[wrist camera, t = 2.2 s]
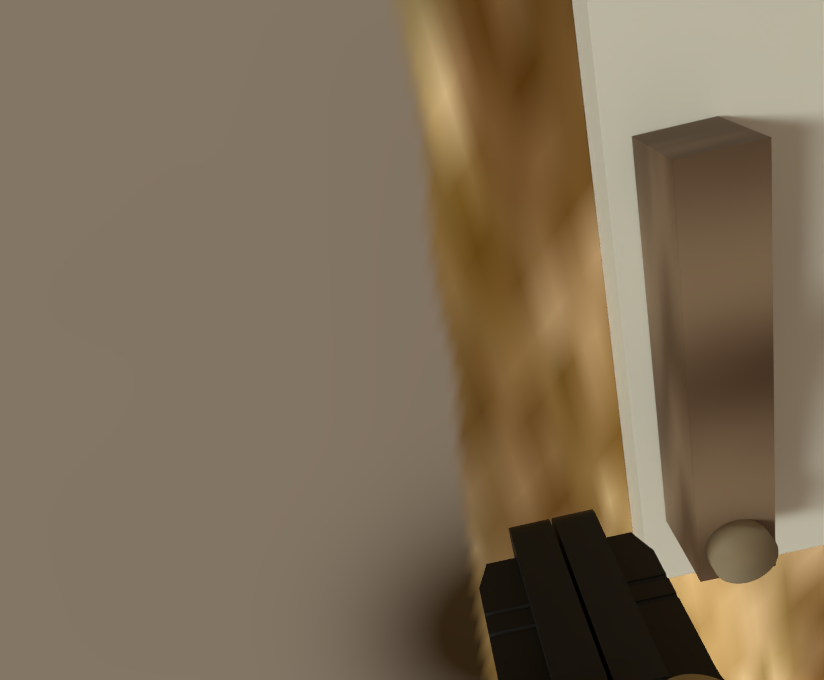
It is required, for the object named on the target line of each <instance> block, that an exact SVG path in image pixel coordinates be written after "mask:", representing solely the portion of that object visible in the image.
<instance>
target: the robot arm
mask: <svg viewBox="0 0 824 680" xmlns="http://www.w3.org/2000/svg"><path fill="white" fill-rule="evenodd" d="M509 533H510V538H511V543H512V548H513V553H514V558H513V559H508V560H503V561H499V562H494V563H490V564H487V565H486V568H485V571H484V575H483V578H482V581H481V584H480V588H479V589H480V594H481V599H482V604H483V609H484V613H485V618H486V623H487V628H488V633H489V637H490V642H491V647H492V652H493V657H494V662H495V666H496V671H497V676H498V680H724V679H723V678H722V677H721V675H720V674H719V672H718V670H717V669H716V667H715V665H714V663H713V661H712V660H711V658H710V656H709V654H708V652H707V650H706V648H705V646H704V644H703V643H702V641H701V639H700V637H699V635H698V633H697V631H696V629H695V627H694V625H693V624H692V622H691V620H690V618H689V616H688V614H687V612H686V610H685V608H684V607H683V605H682V603H681V601H680V599H679V598H678V597H677V595H676V591H675V590H674V588H673V586H672V584H671V582H670V580H669V578H667V576H666V573H665V571H664V569H663V567H662V565H661V563H660V561H659V559H658V557H657V555H656V554H655V552H654V550H653V549H652V548H650V547H649V546H648V545H647V544H645V543H644V542H643V541H641V540H640V539H639V538H638V537H636V536H635V535H634V534H632V533H631V532H630V533H625V534H621V535H616V536H612V537H607V538H606V536H605V534H604V531H603V529H602V527H601V525H600V523H599V520H598V518H597V516H596V514H595V512H594V511H593V510H587V511H583V512H578V513H573V514H569V515H564V516H560V517H555V518H552V525H551V522H550V520H549V519H547V520H543V521H538V522H534V523H529V524H525V525H520V526H515V527H511V528H509Z"/></svg>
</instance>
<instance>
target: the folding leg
mask: <svg viewBox="0 0 824 680" xmlns="http://www.w3.org/2000/svg"><path fill="white" fill-rule="evenodd" d="M632 145H633V156H634V168H635V179H636V190H637V201H638V212H639V223H640V235H641V246H642V257H643V268H644V279H645V290H646V302H647V313H648V324H649V335H650V346H651V357H652V369H653V380H654V391H655V402H656V413H657V424H658V436H659V447H660V458H661V469H662V480H663V491H664V503H665V514H666V522H667V523H668V525H669V527H670V529H671V530H672V532H673V534H674V536H675V537H676V539H677V541H678V543H679V544H680V546H681V548H682V550H683V551H684V553H685V555H686V557H687V558H688V560H689V562H690V564H691V565H692V567H693V569H694V571H695V572H696V574H697V576H698V578H699V580H700V581H701V582H702V581H707V580H711V579H716V578H721V579H722V580H724V581H726V582H729V583H737V584H739V583H747V582H751V581H754V580H756V579H758V578H760V577H762V576H763V575H765V574H766V573H767V572H768V571H769V570H770V569H771V568H772V567H773V566H776V560H777V558H778V552H779V551H778V545H777V543H776V541H775V454H774V352H773V250H772V147H771V137H770V136H767V135H765V134H762V133H759V132H757V131H754V130H752V129H749V128H747V127H744V126H742V125H739V124H737V123H734V122H732V121H729V120H727V119H724V118H722V117H719V116H716V117H711V118H707V119H703V120H699V121H694V122H690V123H686V124H682V125H677V126H673V127H669V128H664V129H660V130H656V131H652V132H647V133H643V134H639V135H634V136H632Z"/></svg>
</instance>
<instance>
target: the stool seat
mask: <svg viewBox="0 0 824 680" xmlns="http://www.w3.org/2000/svg"><path fill="white" fill-rule="evenodd" d="M572 4H573V13H574V21H575V30H576V39H577V47H578V56H579V65H580V74H581V82H582V91H583V100H584V108H585V117H586V126H587V135H588V143H589V152H590V161H591V169H592V178H593V187H594V196H595V204H596V213H597V222H598V231H599V239H600V248H601V257H602V265H603V274H604V283H605V292H606V300H607V309H608V318H609V326H610V335H611V344H612V353H613V361H614V370H615V379H616V387H617V396H618V405H619V414H620V422H621V431H622V440H623V449H624V457H625V466H626V475H627V483H628V492H629V501H630V510H631V518H632V527H633V534H634V535H635V536H636V537H638V538H639V539H640V540H641V541H643V542H644V543H645V544H647V545H648V546H649V547H650V548H652V549H653V550H654V552H655V554H656V555H657V557H658V559H659V561H660V563H661V565H662V567H663V569H664V571H665V573H666V576H667V578H672V577H677V576H681V575H686V574H691V573H695V571H694V569H693V567H692V565H691V564H690V562H689V560H688V558H687V557H686V555H685V553H684V551H683V550H682V548H681V546H680V544H679V543H678V541H677V539H676V537H675V536H674V534H673V532H672V530H671V529H670V527H669V525H668V523H667V522H666V514H665V503H664V491H663V480H662V469H661V458H660V447H659V436H658V424H657V413H656V402H655V391H654V380H653V369H652V357H651V346H650V335H649V324H648V313H647V302H646V290H645V279H644V268H643V257H642V246H641V235H640V223H639V212H638V201H637V190H636V179H635V168H634V156H633V145H632V136H634V135H639V134H643V133H647V132H652V131H656V130H660V129H664V128H669V127H673V126H677V125H682V124H686V123H690V122H694V121H699V120H703V119H707V118H711V117H716V116H719V117H722V118H724V119H727V120H729V121H732V122H734V123H737V124H739V125H742V126H744V127H747V128H749V129H752V130H754V131H757V132H759V133H762V134H765V135H767V136H770V137H771V147H772V250H773V352H774V454H775V541H776V543H777V545H778V551H779V552H778V555H779V554H783V553H788V552H793V551H797V550H802V549H807V548H811V547H816V546H821V545H824V0H572Z"/></svg>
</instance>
